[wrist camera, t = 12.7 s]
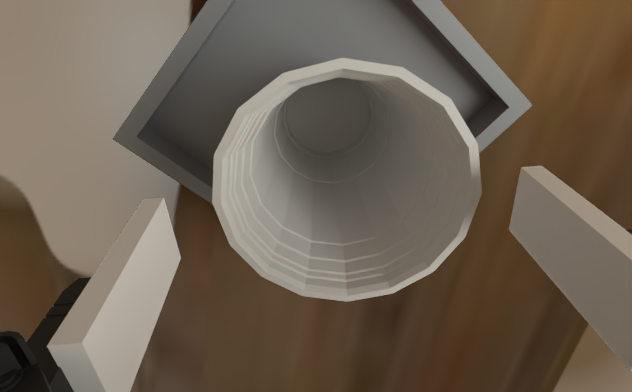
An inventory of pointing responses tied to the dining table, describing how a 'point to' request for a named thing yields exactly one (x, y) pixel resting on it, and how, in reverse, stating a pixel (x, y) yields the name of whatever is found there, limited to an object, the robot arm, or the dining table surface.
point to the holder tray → (298, 52)
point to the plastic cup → (346, 180)
